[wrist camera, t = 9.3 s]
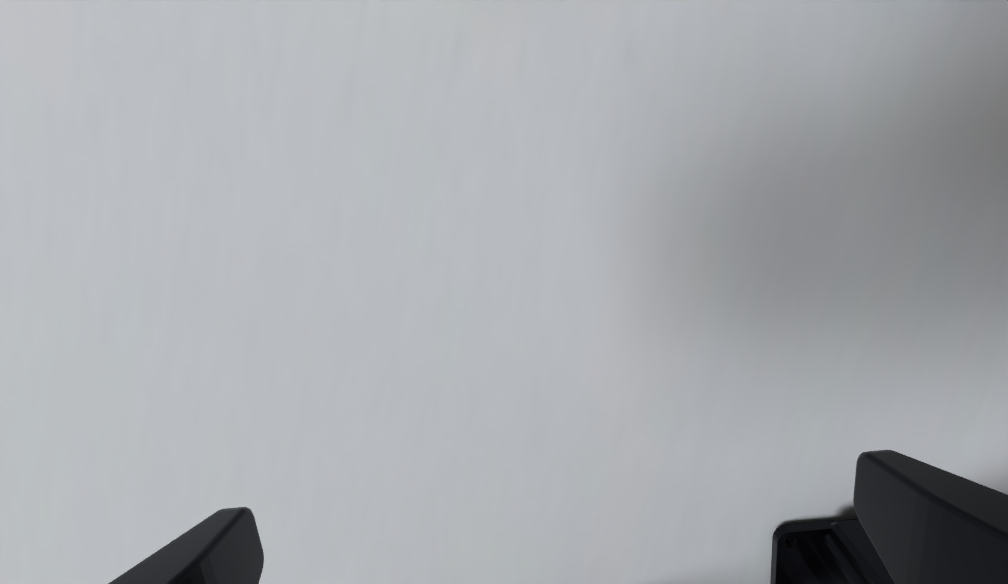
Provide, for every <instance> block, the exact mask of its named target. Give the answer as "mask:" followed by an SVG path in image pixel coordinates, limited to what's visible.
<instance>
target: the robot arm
mask: <svg viewBox="0 0 1008 584" xmlns="http://www.w3.org/2000/svg"><path fill="white" fill-rule="evenodd" d="M854 508H855V512H856V514H857V517H858V519H850V520H838V521H826V522H815V523H803V524H791V525H784V526H781V527H779V528H777V529H776V531H775V532H774V534H773V541H772V562H771V584H1008V495H1007V494H1004V493H1001V492H999V491H996V490H994V489H991V488H988V487H986V486H983V485H981V484H978V483H976V482H973V481H970V480H968V479H965V478H963V477H960V476H957V475H955V474H952V473H950V472H947V471H944V470H942V469H939V468H937V467H934V466H931V465H929V464H926V463H924V462H921V461H918V460H916V459H913V458H911V457H908V456H906V455H903V454H900V453H898V452H895V451H892V450H880V451H869V452H863V453H862V454H860V455H859V457H858V460H857V466H856V476H855V487H854ZM790 537H791V539H790V540H788V541H785V540H786V539H787V538H790ZM263 563H264V555H263V549H262V545H261V541H260V537H259V534H258V530H257V526H256V522H255V518H254V515H253V513H252V511H251V510H250V509H249V508H247V507H239V508H227V509H221V510H219V511H217V512H216V513H214V514H213V515H211V516H210V517H208V518H207V519H205V520H204V521H202V522H201V523H199V524H198V525H196V526H195V527H193V528H192V529H190V530H189V531H187V532H186V533H184V534H183V535H181V536H179V537H178V538H176V539H175V540H173V541H172V542H170V543H169V544H167V545H166V546H164V547H163V548H161V549H160V550H158V551H157V552H155V553H154V554H152V555H151V556H149V557H148V558H146V559H145V560H143V561H142V562H140V563H139V564H137V565H136V566H134V567H133V568H131V569H130V570H128V571H127V572H125V573H124V574H122V575H121V576H119V577H118V578H116V579H115V580H113V581H112V582H110V583H109V584H259V580H260V577H261V573H262V569H263Z"/></svg>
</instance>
